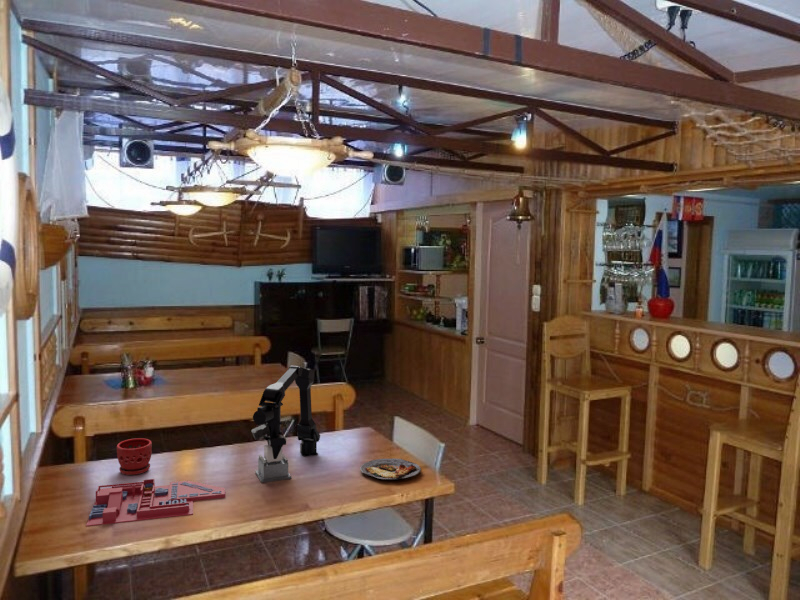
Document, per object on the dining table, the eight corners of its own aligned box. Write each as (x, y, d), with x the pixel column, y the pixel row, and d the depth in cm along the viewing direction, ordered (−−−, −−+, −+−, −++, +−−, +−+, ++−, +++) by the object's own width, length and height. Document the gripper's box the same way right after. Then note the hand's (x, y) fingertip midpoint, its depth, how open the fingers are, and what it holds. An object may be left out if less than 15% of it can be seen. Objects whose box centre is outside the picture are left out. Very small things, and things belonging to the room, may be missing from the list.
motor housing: (282, 467, 259) (283, 449, 258) (291, 478, 246) (291, 460, 246) (254, 471, 254) (254, 453, 253) (261, 482, 241) (261, 464, 241)
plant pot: (112, 470, 251) (112, 442, 250) (145, 463, 260) (145, 436, 259) (123, 480, 241) (122, 450, 240) (156, 472, 250) (156, 443, 249)
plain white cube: (278, 455, 253) (278, 443, 252) (282, 460, 247) (282, 448, 247) (264, 457, 250) (264, 445, 250) (267, 462, 245) (267, 449, 244)
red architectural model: (228, 511, 216) (228, 495, 215) (85, 529, 200) (85, 512, 200) (222, 480, 244) (221, 466, 244) (96, 494, 228) (96, 478, 228)
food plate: (431, 472, 255) (431, 464, 255) (393, 488, 238) (393, 479, 238) (388, 459, 272) (388, 452, 272) (349, 473, 255) (349, 465, 255)
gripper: (248, 414, 252) (248, 451, 254) (257, 426, 235) (257, 466, 237) (275, 412, 257) (275, 448, 258) (286, 424, 240) (286, 462, 241)
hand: (273, 456), depth 248 cm, fingers closed on plain white cube, 6 cm apart
